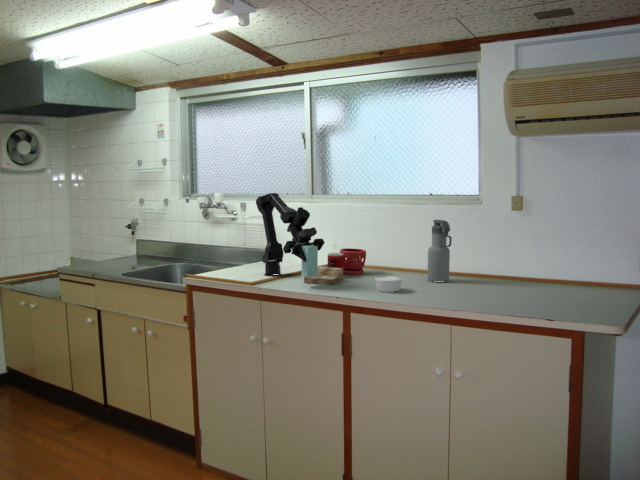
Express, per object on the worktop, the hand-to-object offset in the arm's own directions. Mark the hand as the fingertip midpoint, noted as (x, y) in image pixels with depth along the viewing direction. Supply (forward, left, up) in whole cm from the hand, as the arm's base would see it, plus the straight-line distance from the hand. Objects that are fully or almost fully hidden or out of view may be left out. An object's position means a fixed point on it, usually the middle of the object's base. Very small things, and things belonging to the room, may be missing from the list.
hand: (311, 260), depth 231 cm
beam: (+1, +18, -9) cm, 20 cm away
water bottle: (+49, +35, -12) cm, 61 cm away
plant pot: (+6, +39, -12) cm, 41 cm away
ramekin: (+33, +6, -12) cm, 35 cm away
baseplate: (+1, +13, -11) cm, 18 cm away
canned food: (+1, +28, -12) cm, 30 cm away
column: (-1, +1, -7) cm, 7 cm away
